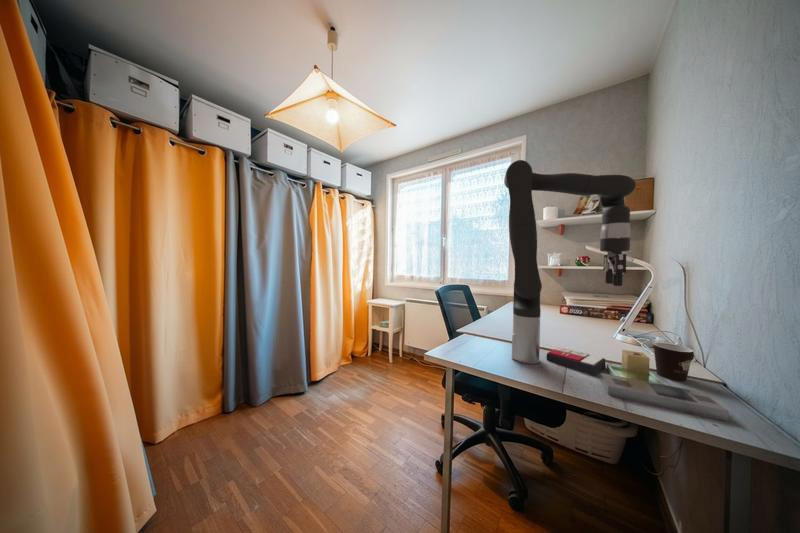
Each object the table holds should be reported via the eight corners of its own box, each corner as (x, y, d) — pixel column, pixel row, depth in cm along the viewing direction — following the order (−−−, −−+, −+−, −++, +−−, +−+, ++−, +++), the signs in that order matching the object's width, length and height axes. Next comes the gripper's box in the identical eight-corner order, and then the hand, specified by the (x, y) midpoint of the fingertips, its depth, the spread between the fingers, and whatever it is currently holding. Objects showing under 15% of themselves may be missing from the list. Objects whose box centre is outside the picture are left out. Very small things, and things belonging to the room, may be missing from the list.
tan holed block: (626, 379, 74) (627, 354, 74) (621, 373, 78) (622, 349, 78) (648, 383, 72) (649, 357, 71) (641, 376, 76) (642, 352, 76)
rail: (608, 394, 66) (608, 385, 66) (599, 380, 74) (600, 372, 74) (728, 421, 56) (728, 410, 56) (703, 401, 64) (704, 392, 64)
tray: (617, 382, 73) (617, 378, 73) (606, 368, 83) (606, 364, 83) (668, 393, 67) (668, 387, 67) (650, 376, 77) (650, 371, 77)
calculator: (558, 345, 96) (605, 356, 83) (558, 356, 96) (606, 368, 83) (545, 351, 89) (594, 364, 77) (546, 362, 89) (595, 377, 77)
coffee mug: (663, 380, 75) (664, 349, 74) (645, 368, 83) (646, 341, 82) (714, 387, 71) (715, 355, 70) (690, 374, 79) (691, 345, 78)
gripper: (595, 239, 88) (594, 282, 88) (606, 236, 75) (605, 285, 76) (622, 238, 84) (620, 283, 85) (638, 235, 72) (636, 287, 72)
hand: (613, 284), depth 80 cm, fingers open, 8 cm apart
